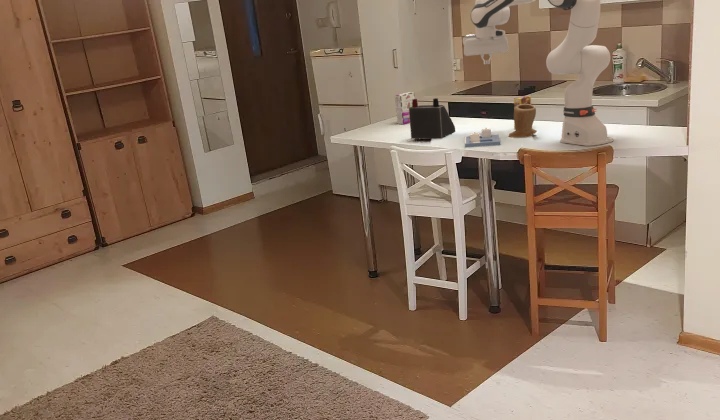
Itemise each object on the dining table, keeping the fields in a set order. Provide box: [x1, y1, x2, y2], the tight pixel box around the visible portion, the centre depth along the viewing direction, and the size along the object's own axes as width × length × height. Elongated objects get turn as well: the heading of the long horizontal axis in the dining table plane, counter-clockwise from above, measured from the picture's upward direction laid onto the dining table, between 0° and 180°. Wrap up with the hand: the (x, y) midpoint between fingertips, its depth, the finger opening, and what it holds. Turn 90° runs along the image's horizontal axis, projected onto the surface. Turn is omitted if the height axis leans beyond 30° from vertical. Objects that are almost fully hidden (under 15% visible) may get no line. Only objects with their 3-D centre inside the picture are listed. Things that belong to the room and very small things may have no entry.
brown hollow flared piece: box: [507, 104, 537, 138], centre depth 298 cm, size 15×12×15 cm
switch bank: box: [464, 134, 501, 148], centre depth 291 cm, size 15×16×3 cm
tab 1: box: [469, 131, 481, 143], centre depth 287 cm, size 4×3×5 cm
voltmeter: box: [409, 97, 456, 142], centre depth 317 cm, size 16×16×20 cm
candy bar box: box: [394, 91, 416, 126], centre depth 368 cm, size 11×5×16 cm, turn 132°
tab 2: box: [481, 127, 492, 138], centre depth 294 cm, size 4×3×5 cm
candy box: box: [513, 95, 532, 131], centre depth 318 cm, size 9×4×15 cm, turn 134°
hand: (486, 64), depth 302 cm, fingers closed
